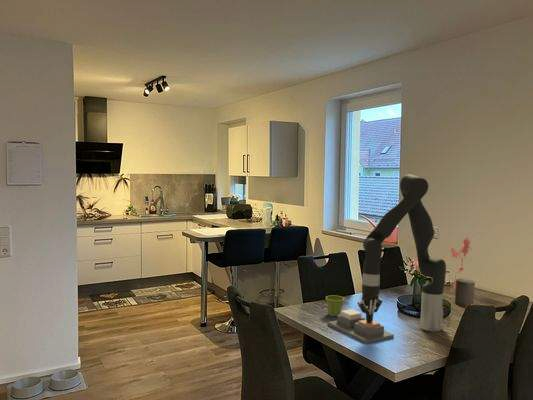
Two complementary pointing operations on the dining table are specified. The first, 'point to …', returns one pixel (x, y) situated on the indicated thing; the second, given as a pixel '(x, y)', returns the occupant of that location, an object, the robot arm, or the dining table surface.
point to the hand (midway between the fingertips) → (369, 322)
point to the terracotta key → (368, 324)
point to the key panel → (360, 330)
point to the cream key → (351, 314)
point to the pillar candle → (464, 292)
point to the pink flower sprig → (455, 254)
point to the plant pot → (334, 305)
